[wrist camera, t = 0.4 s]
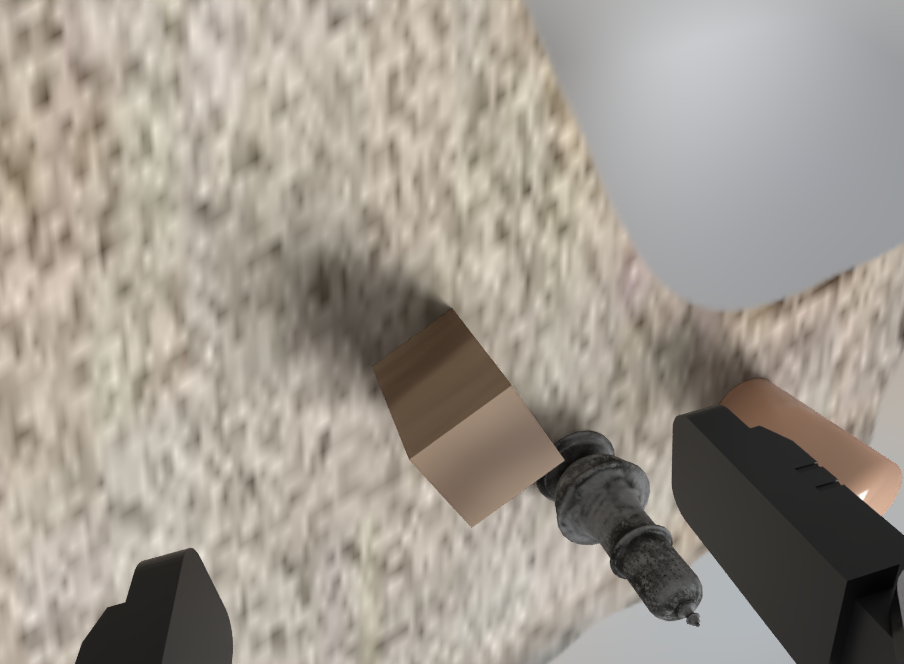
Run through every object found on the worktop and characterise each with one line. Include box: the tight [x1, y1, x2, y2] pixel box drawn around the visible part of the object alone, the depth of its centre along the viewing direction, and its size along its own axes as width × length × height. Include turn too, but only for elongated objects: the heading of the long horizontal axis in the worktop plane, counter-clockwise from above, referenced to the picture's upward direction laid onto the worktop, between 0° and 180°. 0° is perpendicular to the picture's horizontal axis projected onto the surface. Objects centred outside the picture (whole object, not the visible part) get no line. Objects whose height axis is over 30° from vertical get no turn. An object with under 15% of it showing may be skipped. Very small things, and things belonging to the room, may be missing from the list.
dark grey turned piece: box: [537, 431, 702, 627], centre depth 33 cm, size 6×6×12 cm
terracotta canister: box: [719, 378, 902, 516], centre depth 37 cm, size 5×5×9 cm
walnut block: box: [372, 309, 565, 528], centre depth 29 cm, size 5×5×8 cm
